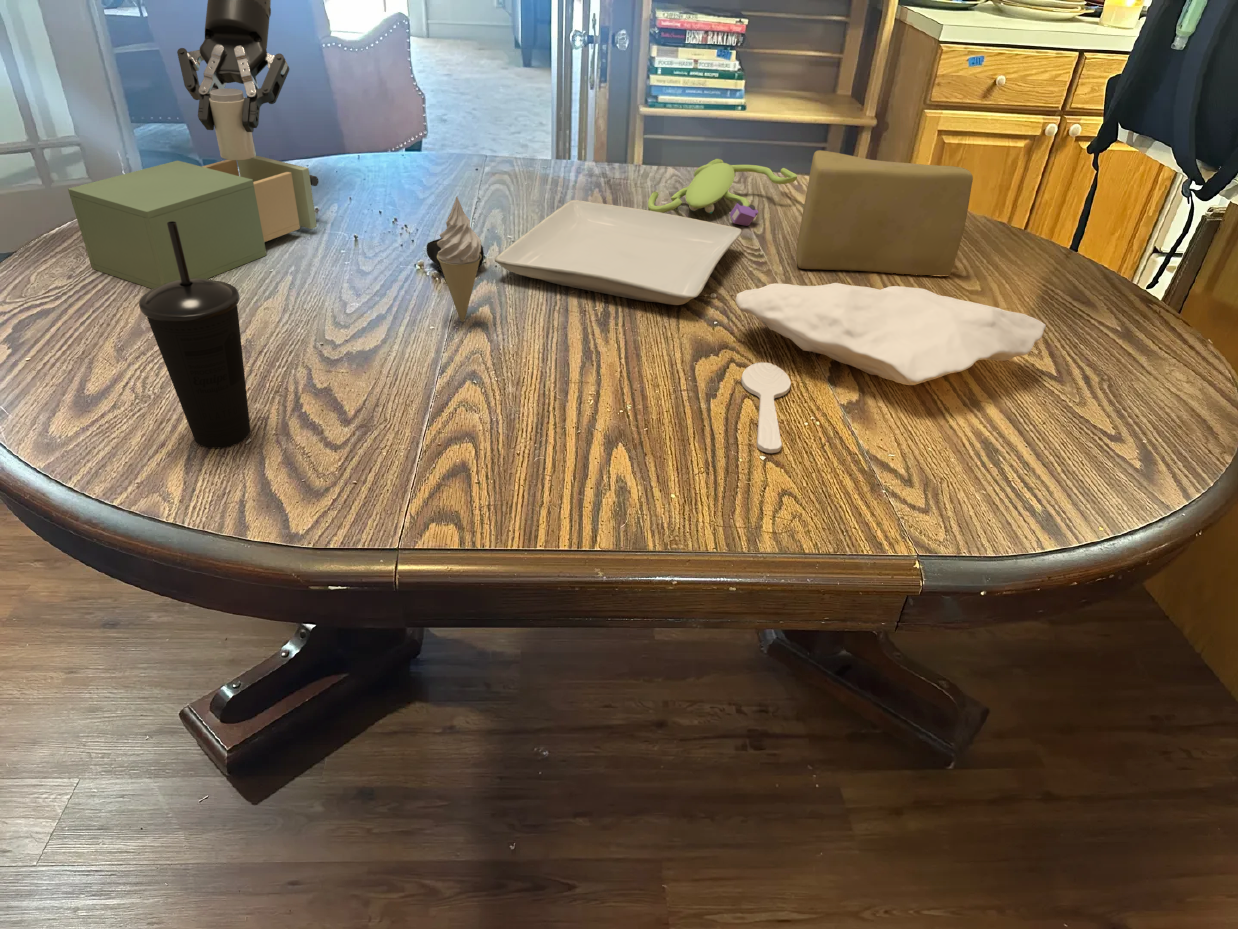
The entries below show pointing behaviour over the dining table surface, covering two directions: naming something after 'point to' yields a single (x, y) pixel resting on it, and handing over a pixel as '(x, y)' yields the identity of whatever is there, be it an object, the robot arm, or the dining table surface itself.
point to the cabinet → (149, 198)
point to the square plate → (621, 251)
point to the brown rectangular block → (882, 216)
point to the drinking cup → (201, 351)
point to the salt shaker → (231, 124)
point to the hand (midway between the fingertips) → (227, 127)
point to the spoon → (766, 401)
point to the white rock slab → (892, 328)
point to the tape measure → (434, 249)
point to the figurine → (719, 190)
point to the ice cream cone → (459, 257)
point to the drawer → (277, 193)
